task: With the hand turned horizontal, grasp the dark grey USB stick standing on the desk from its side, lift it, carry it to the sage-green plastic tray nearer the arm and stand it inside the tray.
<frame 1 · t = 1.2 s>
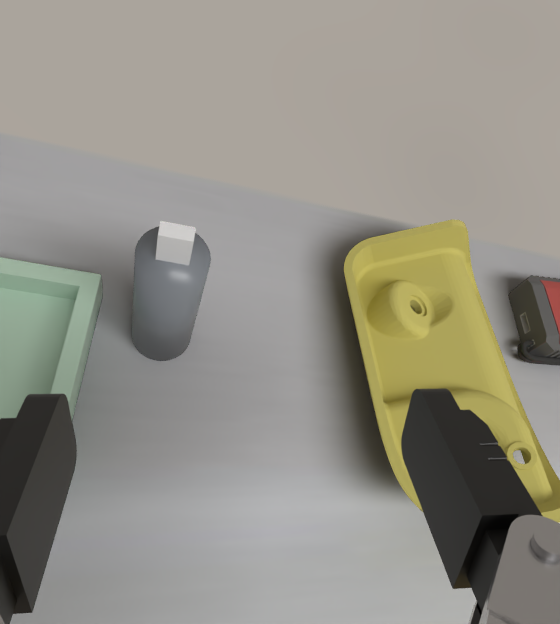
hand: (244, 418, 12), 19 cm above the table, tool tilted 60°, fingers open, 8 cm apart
plastic component: (420, 385, 37), on the table
usb stick: (161, 334, 33), on the table
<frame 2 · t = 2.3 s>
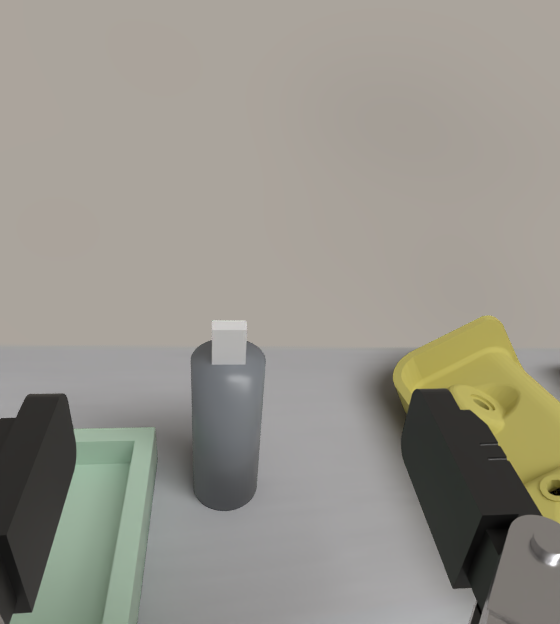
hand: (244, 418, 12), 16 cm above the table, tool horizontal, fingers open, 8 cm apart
tray: (20, 556, 26), on the table
plastic component: (520, 489, 32), on the table
usb stick: (225, 484, 30), on the table
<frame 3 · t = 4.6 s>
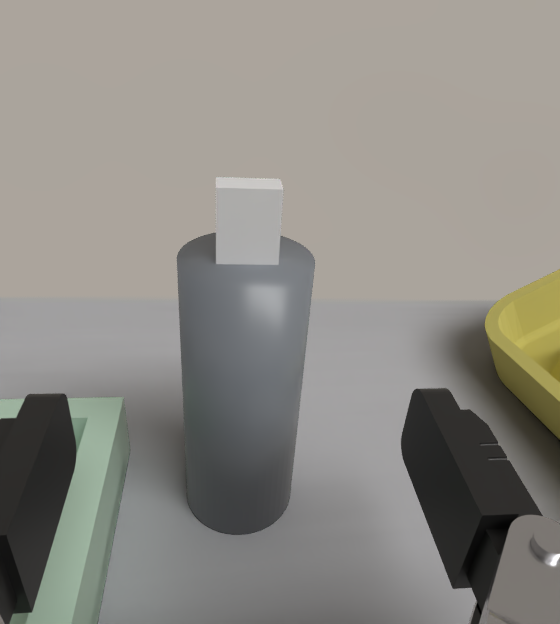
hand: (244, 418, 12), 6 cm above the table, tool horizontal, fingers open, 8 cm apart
usb stick: (239, 489, 19), on the table
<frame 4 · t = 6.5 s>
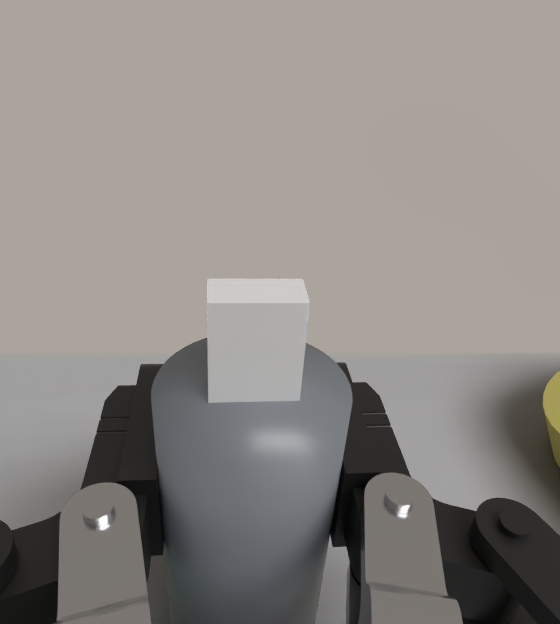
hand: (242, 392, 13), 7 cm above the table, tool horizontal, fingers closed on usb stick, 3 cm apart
when the fingers open (8 cm above the table, at t = 11.4 s): usb stick stays where it is, resting on tray.
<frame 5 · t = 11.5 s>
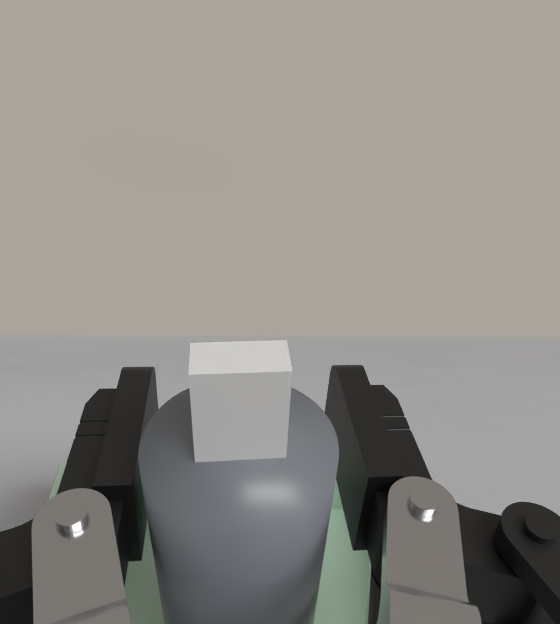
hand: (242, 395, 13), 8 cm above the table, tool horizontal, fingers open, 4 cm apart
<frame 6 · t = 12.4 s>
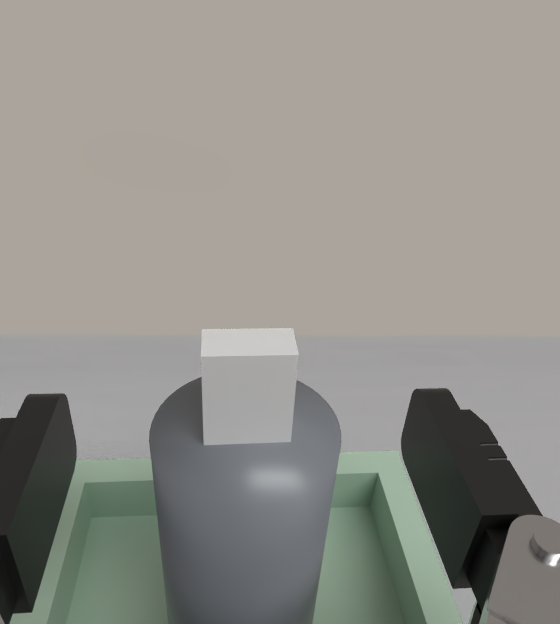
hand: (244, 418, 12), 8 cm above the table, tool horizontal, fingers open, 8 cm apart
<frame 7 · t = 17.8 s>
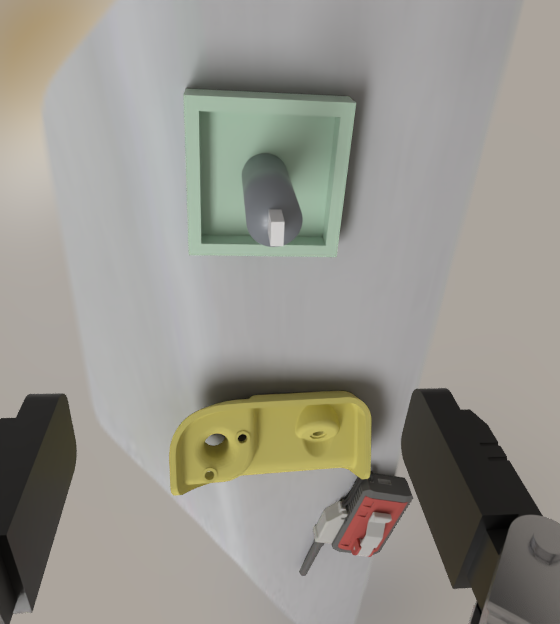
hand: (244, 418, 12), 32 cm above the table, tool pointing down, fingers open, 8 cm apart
tray: (264, 173, 42), on the table
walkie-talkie: (349, 518, 67), on the table
plastic component: (270, 419, 57), on the table
usb stick: (264, 176, 41), point 1 cm above the table, touching tray
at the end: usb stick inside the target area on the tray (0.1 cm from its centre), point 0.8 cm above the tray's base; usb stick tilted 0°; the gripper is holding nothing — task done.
